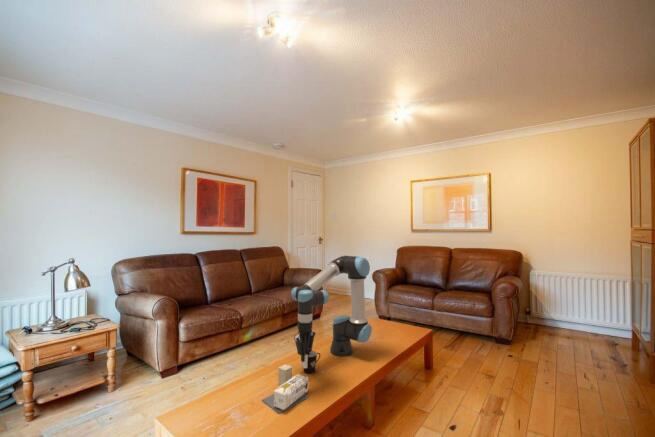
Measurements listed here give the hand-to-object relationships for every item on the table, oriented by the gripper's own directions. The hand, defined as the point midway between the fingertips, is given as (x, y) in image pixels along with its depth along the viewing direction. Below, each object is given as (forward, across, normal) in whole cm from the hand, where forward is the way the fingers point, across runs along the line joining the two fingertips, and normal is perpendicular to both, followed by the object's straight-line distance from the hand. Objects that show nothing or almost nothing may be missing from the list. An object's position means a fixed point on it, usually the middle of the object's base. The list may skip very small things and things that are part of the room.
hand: (304, 367), depth 153 cm
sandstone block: (+11, +4, -11) cm, 16 cm away
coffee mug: (+12, -16, -12) cm, 23 cm away
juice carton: (+7, +1, +1) cm, 7 cm away
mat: (+11, +12, 0) cm, 17 cm away
